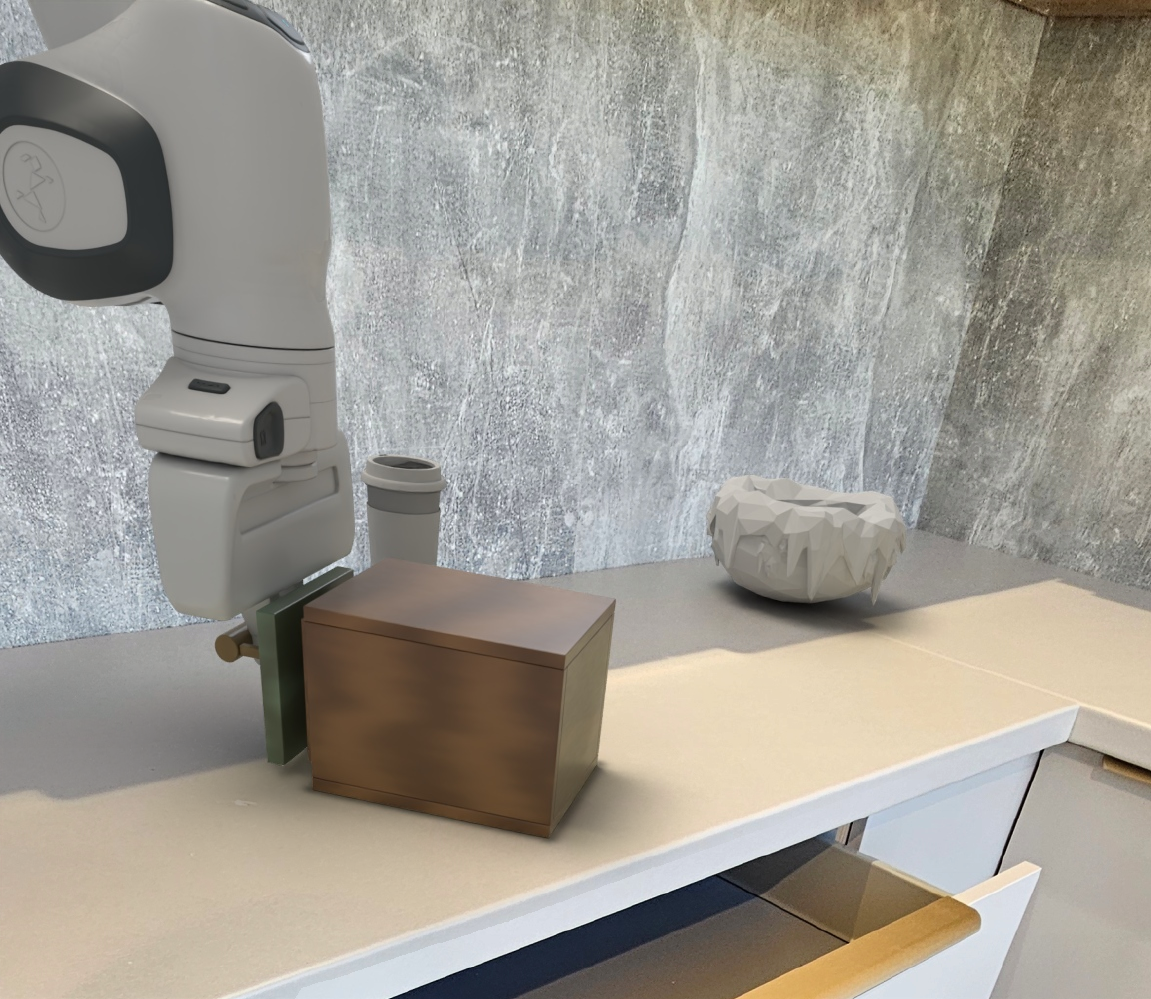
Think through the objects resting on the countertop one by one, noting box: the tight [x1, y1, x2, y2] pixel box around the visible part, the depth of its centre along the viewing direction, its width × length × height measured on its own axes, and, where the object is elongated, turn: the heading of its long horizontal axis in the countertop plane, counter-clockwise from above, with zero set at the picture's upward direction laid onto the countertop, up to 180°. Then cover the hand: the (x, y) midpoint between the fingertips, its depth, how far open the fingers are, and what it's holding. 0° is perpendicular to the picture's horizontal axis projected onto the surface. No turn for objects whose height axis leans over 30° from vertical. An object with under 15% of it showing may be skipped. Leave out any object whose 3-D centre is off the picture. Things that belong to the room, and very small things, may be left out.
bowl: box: [705, 474, 907, 607], centre depth 118 cm, size 21×20×10 cm
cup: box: [360, 453, 448, 567], centre depth 97 cm, size 7×7×12 cm
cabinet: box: [303, 557, 617, 839], centre depth 74 cm, size 16×14×11 cm
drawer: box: [214, 565, 355, 767], centre depth 74 cm, size 19×12×9 cm, turn 76°
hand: (276, 660), depth 75 cm, fingers closed
